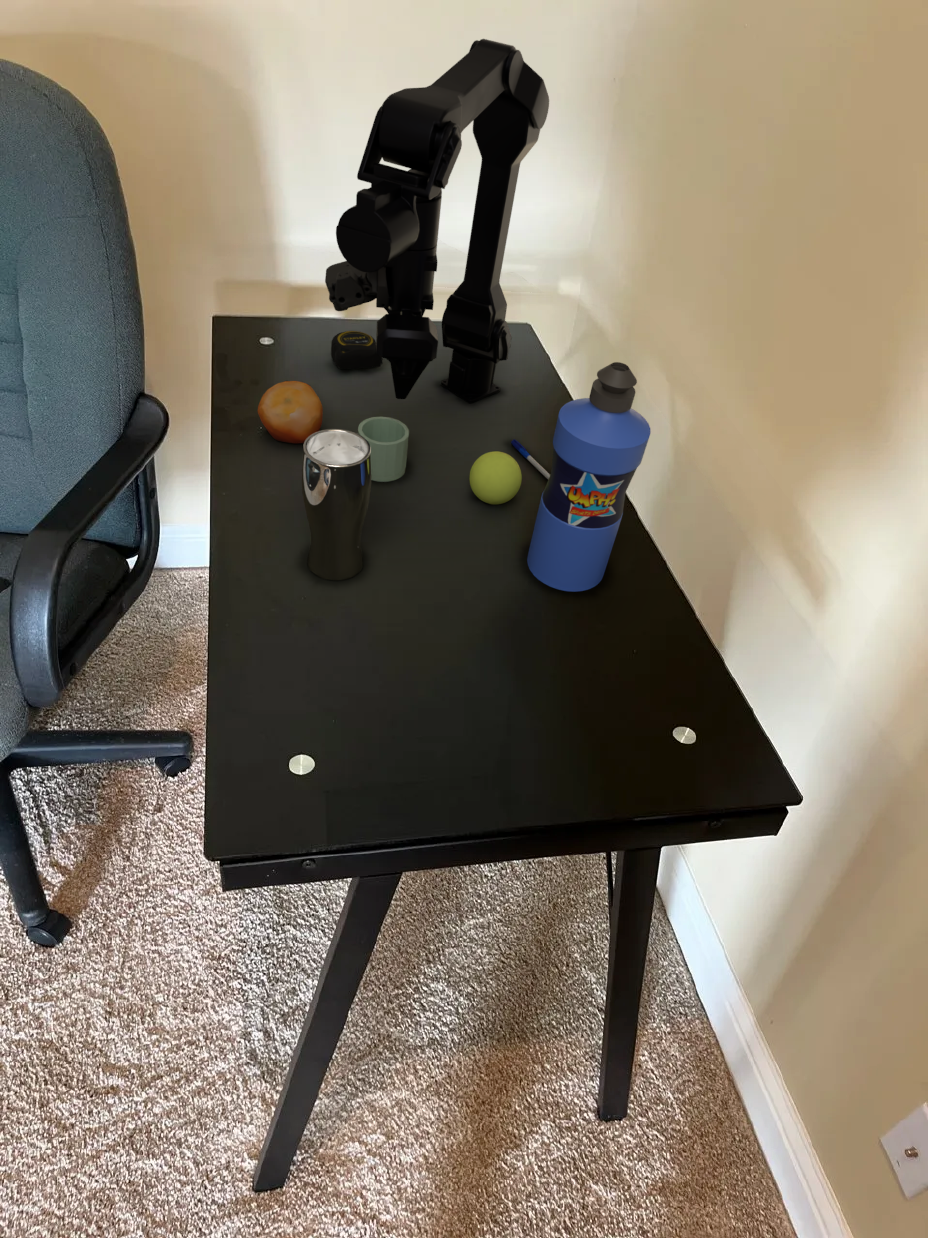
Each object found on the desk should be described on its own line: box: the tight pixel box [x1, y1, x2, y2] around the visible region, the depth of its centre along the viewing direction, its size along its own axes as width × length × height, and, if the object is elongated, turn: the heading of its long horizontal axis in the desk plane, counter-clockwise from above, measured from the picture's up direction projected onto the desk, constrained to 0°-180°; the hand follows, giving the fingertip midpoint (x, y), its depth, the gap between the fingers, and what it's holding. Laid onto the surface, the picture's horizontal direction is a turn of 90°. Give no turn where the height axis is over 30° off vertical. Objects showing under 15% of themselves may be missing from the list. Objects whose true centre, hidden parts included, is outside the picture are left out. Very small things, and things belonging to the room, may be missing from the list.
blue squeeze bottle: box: [526, 361, 652, 593], centre depth 87 cm, size 9×9×25 cm
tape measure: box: [330, 330, 384, 370], centre depth 122 cm, size 7×7×4 cm
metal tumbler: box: [301, 428, 372, 581], centre depth 86 cm, size 7×7×15 cm
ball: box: [468, 451, 523, 505], centre depth 101 cm, size 6×6×6 cm
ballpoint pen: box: [510, 438, 551, 480], centre depth 109 cm, size 10×1×1 cm, turn 33°
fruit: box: [257, 380, 324, 444], centre depth 106 cm, size 8×8×8 cm
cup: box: [357, 416, 410, 483], centre depth 103 cm, size 6×6×6 cm
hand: (399, 377), depth 96 cm, fingers open, 9 cm apart
